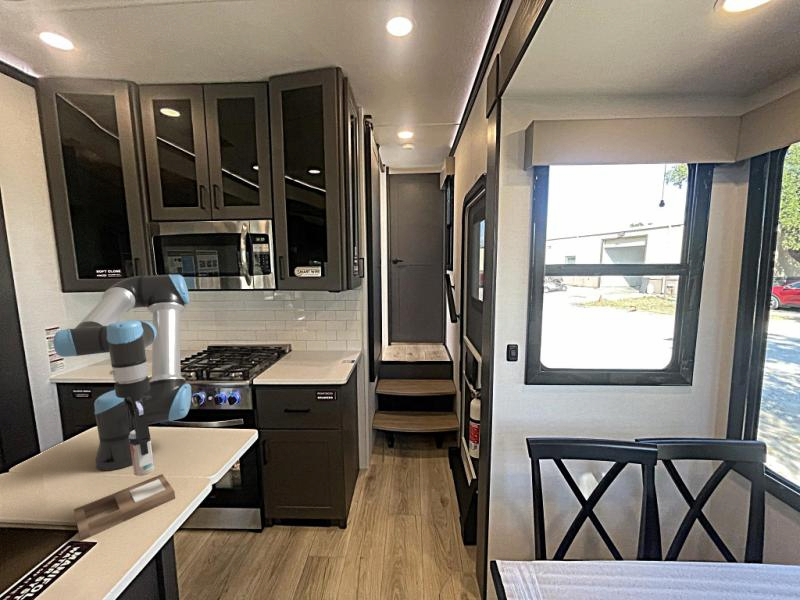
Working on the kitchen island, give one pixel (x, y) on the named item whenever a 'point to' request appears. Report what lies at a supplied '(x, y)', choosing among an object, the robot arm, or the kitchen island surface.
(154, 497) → the pocket board
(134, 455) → the beer can
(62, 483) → the kitchen island surface
